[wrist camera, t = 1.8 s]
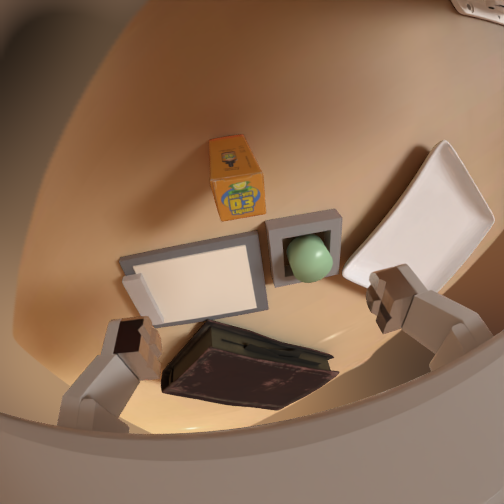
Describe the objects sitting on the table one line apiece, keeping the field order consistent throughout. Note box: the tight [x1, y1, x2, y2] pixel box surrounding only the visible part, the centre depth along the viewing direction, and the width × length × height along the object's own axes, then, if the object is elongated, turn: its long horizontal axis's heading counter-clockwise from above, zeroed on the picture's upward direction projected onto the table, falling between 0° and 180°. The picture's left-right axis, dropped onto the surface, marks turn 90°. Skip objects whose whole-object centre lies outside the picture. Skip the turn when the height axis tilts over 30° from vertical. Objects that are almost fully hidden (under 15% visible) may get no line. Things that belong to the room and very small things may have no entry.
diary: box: [161, 319, 339, 410], centre depth 44 cm, size 19×25×5 cm
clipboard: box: [119, 230, 269, 328], centre depth 33 cm, size 16×12×2 cm
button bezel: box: [265, 209, 342, 288], centre depth 32 cm, size 8×8×2 cm
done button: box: [286, 234, 333, 283], centre depth 30 cm, size 4×4×3 cm
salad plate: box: [342, 140, 495, 293], centre depth 33 cm, size 21×21×3 cm
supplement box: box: [209, 134, 266, 221], centre depth 21 cm, size 3×3×10 cm
